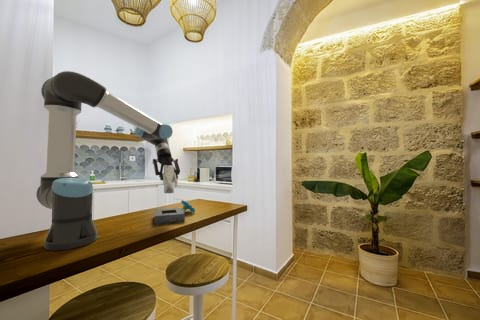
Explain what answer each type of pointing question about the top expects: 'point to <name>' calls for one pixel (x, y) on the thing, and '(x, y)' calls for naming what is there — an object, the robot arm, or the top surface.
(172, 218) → the block
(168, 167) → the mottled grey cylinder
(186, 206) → the teal irregular piece
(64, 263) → the top surface
